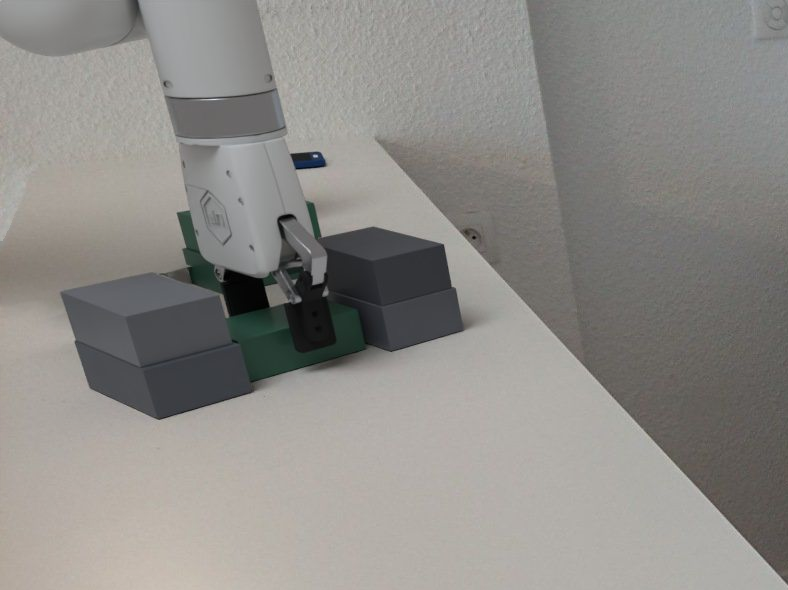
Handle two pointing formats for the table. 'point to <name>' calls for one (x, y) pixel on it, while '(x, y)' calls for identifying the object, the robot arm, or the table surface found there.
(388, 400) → the table surface
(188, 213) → the green stack
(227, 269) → the robot arm
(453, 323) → the grey blocks
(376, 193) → the table surface
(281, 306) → the green block
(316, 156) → the cell phone
